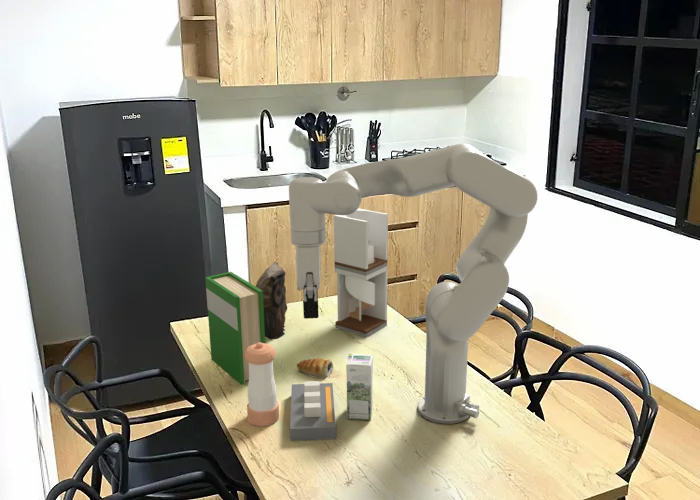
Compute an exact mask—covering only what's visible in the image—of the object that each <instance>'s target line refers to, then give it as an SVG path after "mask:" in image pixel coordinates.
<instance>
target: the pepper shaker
mask: <svg viewBox="0 0 700 500" xmlns="http://www.w3.org/2000/svg"><path fill="white" fill-rule="evenodd" d="M276 355H277V351H276V349H275V348H274V346H272V345H271V344H269V343H266V342H265V343H261V342H259V343H257V344H253V345H251V346H249V347H248V348H247V350H246V351H245V358H246V360H247V361H248V362H249V379H248V385H247V398H248V399H247V401H248V403H247V405H246V407H247V408H246V410H247V421H248V423H249V424H251V425H253V426H257V427H267V426H271V425H274V424H275V423H277V422H278V421H279V418H280V408H279V407H280V405H279V401H278V392H277V391H278V390H277V386H276V381H275V376H274V362H273V361H274V360H275V358H276Z"/></svg>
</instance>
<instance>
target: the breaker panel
mask: <svg viewBox="0 0 700 500" xmlns="http://www.w3.org/2000/svg"><path fill="white" fill-rule="evenodd" d="M290 391H291V393H290V394H291V395H290V399H291V400H290V423H289V425H290V426H289V435H290V437H289V439H290V442H295V441H320V440H337V433H336V432H337V428H336V412H335V401H334V385H333V382H324V383H321V382H320V406H321V417H305V411H304V403H305V399H304V392H305V388H304V383H298V384H296V383H295V384H293V383H292V384H291V390H290Z"/></svg>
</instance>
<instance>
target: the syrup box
mask: <svg viewBox="0 0 700 500" xmlns="http://www.w3.org/2000/svg"><path fill="white" fill-rule="evenodd" d="M373 358H374V357H373V354H369V353H368V354H365V353H364V354H363V353H348V356H347V359H346V370H345V371H346V419H347V420H360V421H371V420H372V415H373V374H374V373H373V365H374V364H373V363H374V359H373Z"/></svg>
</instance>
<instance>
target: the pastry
mask: <svg viewBox="0 0 700 500" xmlns="http://www.w3.org/2000/svg"><path fill="white" fill-rule="evenodd" d="M296 368H297V370H298V372H300V373H302V374H304V375H306V376H307V377H314V378H318V379H319V378H320V379H327V378H328V377H329V376H330V373H331V372H332V371H333V370H334V364H333V360H331V359H330V358H329V359H325V358H321V357H318V358H308V359H304V360H301V361H299V362H298V363H297V364H296Z"/></svg>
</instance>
